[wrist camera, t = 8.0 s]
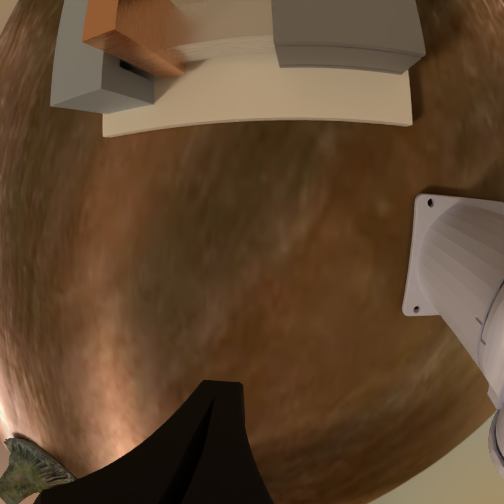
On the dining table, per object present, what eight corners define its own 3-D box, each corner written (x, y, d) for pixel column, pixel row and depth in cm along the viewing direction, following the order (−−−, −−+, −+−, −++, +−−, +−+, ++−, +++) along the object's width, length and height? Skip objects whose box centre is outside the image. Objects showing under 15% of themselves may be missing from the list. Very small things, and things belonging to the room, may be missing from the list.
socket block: (157, 11, 14) (115, -25, 9) (153, 104, 16) (101, 88, 11) (113, 24, 15) (65, -2, 9) (107, 114, 17) (50, 106, 11)
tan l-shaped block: (301, 7, 13) (298, -74, 6) (306, 65, 14) (309, -2, 7) (121, 36, 15) (45, -3, 7) (117, 88, 16) (32, 66, 8)
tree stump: (100, 500, 40) (56, 547, 25) (50, 459, 48) (11, 496, 33) (55, 454, 34) (-2, 507, 19) (11, 410, 42) (-37, 450, 27)
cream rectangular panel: (388, -9, 12) (408, -47, 8) (406, 126, 15) (441, 116, 10) (117, 14, 15) (78, -9, 10) (111, 137, 18) (63, 135, 13)
